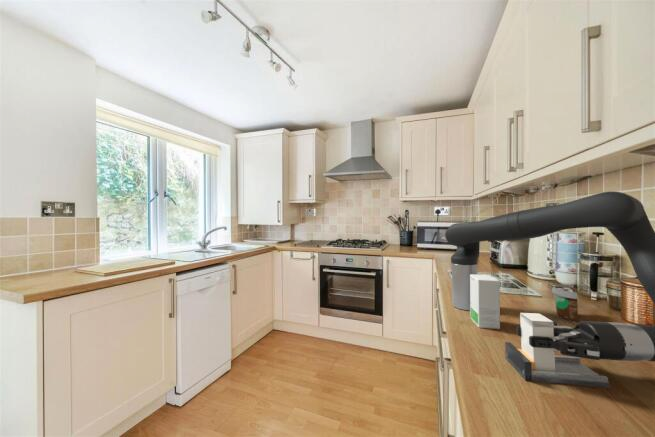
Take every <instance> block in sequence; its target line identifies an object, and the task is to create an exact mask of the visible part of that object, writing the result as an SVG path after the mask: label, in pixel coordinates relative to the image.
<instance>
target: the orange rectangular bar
mask: <svg viewBox="0 0 655 437" xmlns="http://www.w3.org/2000/svg"><path fill="white" fill-rule="evenodd" d="M517 349H518V350H519V351H520V352H521V353H522V354H523V355H524V356H525V357H526V358H527V359H528V360H530V361H531V367H532V370H536V366H535V362H534V361H533V360H532V359H531V358H530V357H529V356H528V355H527V354H526V353H525V352H524V351H522V348H517Z"/></svg>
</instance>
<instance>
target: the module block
mask: <svg viewBox="0 0 655 437" xmlns="http://www.w3.org/2000/svg"><path fill="white" fill-rule="evenodd" d="M519 320H520V321H519V322H520V326H521V336H520V344H521V350H522V351H524V352H525V353H526V354H527V355H528V356H529V357H530V358H531V359H532V360H533V361H534V362H535V366H536V371H549V372H555V356H556V355H555V350H552V349H551V348H537V347H532V346H531V345H530V344H529V337H530V336H542V337H549V338H550V339H551V337H554V330H553V321H554V320H551V319H549V318H548V317H546V316H544V315H543V314H541V313H538V312H537V313H536V312H533V313H532V312H531V313H530V312H520V313H519Z"/></svg>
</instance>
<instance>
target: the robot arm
mask: <svg viewBox="0 0 655 437" xmlns="http://www.w3.org/2000/svg"><path fill="white" fill-rule="evenodd" d="M584 228H605V229H607V230H608V231H609V232H610V233H611V235H612V236H613V237H614V238H615V239H616V240H617V242H619V243H620V245H621V246H622V248H623V249H624V251H625V253H626V255H627V256H628V258H629V260H630V263H631V265H632V268H633V270H634V274H635V275H636V277H637V279H638V281H639V283H640V284H641V285H642V288H643V289H644V291H645V292H646V294H647V295H648V297H649V298H650V300H651V301H652V303H653V304H654V305H655V230H654V228H653V226H652V224H651V222H650V220H649V218H648V215H647V213H646V210H645V208H644V205H643V204H642V202H641V201H640V200H639V199H637V198H635V197H634V196H632V195H629V194H627V193H625V192H621V191H605V192H600V193H596V194H592V195H589V196H585V197H582V198H578V199H575V200H571V201H568V202H562V203H559V204H554V205H549V206H540V207H535V208H529V209H523V210H518V211H513V212H509V213H505V214H499V215H496V216H493V217H490V218H486V219H483V220H479V221H473V222H462V223H461V222H459V223H458V222H457V223H453V224H451V225H450V226H448V228H447V229H446V230H445V234H444V237H445V240H446V241H447V243H448V244H450V245H452V246H455V247H456V250H455V252H454V253H453V254H452V255H451V256H450V262H451V263H450V265H451V267H450V268H451V290H452V291H451V295H452V296H451V297H452V306H453V307H454V308H456V309H459V310H463V311H464V310H465V311H470V274H475V275H479V272H478V261H479V260H478V259H479V257H480V248H481V247H480V243H481V242H505V241H509V242H510V241H520V240H529V239H535V238H541V237H544V236H547V235H551V234H553V233H557V232H560V231H564V230H571V229H573V230H574V229H584ZM552 321H553V330H554V337H551V339H550V338H549V337H542V336H530V337H529V344H530V345H531V346H532V347H537V348H551V349H552V350H554V352H555V351H556V352H559V353H560V354H561V356H568V357H579V358H580V359H587V360H593V361H595V360H596V361H600V360H607V361H622V362H655V325H650V324H648V325H647V324H631V323H630V324H629V323H624V322H612V321H611V322H608V321H591V320H590V321H589V320H587V321H586V320H582V321H578V322H577V324H576V326H575V327H571V326H565V325H562V326H561V325H560V326H559V325H558V322H556V321H554V320H552ZM515 334H516V335H517V336H519V337H521V325H517V326H515Z"/></svg>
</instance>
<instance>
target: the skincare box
mask: <svg viewBox="0 0 655 437" xmlns="http://www.w3.org/2000/svg"><path fill="white" fill-rule="evenodd" d="M500 283H501V282H500V280H499V279H497V278H496V277H494V276H492V275H491V274H478V275H475V274H470V310H469V318H470V320H471V321H472V322H473V323H474V324H475V325H476V326H477V327H478V328H480V329H494V330H495V329H496V330H500V328H501V311H500V309H501V306H500V305H501V304H500V303H501V301H500V300H501V297H500V296H501V290H500V289H501V286H500V285H501V284H500Z"/></svg>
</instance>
